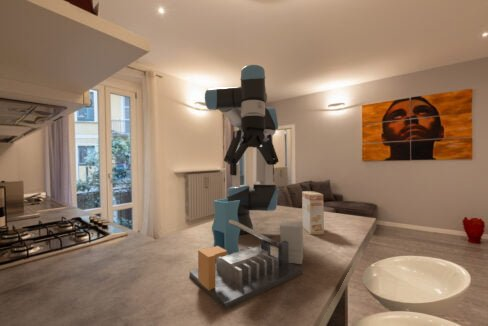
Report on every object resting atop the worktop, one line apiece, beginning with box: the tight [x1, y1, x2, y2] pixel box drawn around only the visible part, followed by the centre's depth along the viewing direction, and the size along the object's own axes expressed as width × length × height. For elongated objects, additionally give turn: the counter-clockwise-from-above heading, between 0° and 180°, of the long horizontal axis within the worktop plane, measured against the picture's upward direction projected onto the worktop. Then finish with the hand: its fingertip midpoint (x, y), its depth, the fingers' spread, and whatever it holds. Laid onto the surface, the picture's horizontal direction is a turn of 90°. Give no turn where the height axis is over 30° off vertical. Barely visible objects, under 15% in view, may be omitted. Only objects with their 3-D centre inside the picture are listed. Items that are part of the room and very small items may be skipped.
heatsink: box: [189, 234, 303, 311], centre depth 67 cm, size 20×28×8 cm
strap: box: [228, 220, 279, 248], centre depth 70 cm, size 6×20×2 cm
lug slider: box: [197, 246, 227, 290], centre depth 60 cm, size 6×6×8 cm
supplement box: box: [279, 220, 304, 265], centre depth 78 cm, size 7×7×13 cm
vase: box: [211, 198, 240, 256], centre depth 85 cm, size 8×8×20 cm
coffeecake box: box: [301, 190, 325, 236], centre depth 114 cm, size 15×7×20 cm, turn 179°
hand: (253, 185), depth 68 cm, fingers open, 13 cm apart
